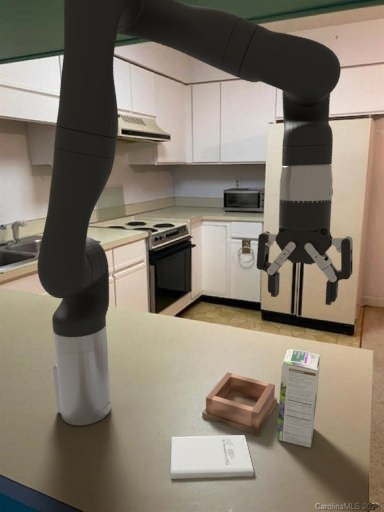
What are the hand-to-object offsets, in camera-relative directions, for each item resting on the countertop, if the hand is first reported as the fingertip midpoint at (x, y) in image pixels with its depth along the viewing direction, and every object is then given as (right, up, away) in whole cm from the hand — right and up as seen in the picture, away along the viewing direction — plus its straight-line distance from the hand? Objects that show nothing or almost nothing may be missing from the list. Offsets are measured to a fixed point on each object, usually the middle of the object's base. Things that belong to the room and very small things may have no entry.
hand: (301, 299), depth 61 cm
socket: (-8, -22, +12) cm, 27 cm away
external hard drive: (-14, -26, +1) cm, 30 cm away
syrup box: (+1, -24, +6) cm, 25 cm away
